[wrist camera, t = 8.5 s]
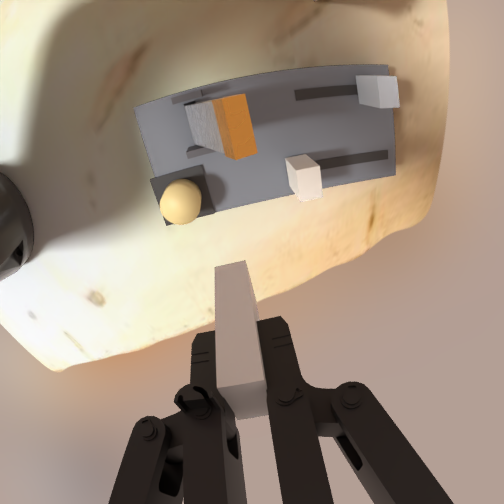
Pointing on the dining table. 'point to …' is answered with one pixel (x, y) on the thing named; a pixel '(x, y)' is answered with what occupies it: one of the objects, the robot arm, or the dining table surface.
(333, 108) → the panel
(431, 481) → the robot arm
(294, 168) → the cream slider
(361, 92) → the grey slider
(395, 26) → the dining table surface
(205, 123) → the lever
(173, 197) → the button
